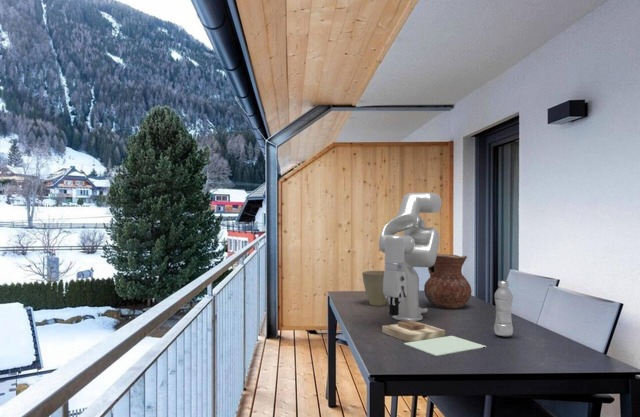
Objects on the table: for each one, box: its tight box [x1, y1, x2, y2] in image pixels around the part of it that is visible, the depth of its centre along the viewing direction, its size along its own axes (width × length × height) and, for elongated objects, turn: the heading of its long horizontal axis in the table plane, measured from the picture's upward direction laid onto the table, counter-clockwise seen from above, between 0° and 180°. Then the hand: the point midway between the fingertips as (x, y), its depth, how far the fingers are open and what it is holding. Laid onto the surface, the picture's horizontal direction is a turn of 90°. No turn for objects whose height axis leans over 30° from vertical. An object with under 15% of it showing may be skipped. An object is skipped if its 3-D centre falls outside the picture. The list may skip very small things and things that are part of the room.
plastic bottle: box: [493, 280, 514, 338], centre depth 175 cm, size 6×7×20 cm
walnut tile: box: [397, 320, 425, 331], centre depth 178 cm, size 6×8×2 cm
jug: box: [423, 252, 472, 309], centre depth 233 cm, size 22×21×25 cm
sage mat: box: [403, 335, 487, 357], centre depth 162 cm, size 22×16×1 cm
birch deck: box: [381, 321, 446, 343], centre depth 177 cm, size 16×16×2 cm
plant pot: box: [361, 270, 388, 307], centre depth 236 cm, size 15×15×16 cm
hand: (393, 315), depth 186 cm, fingers closed
